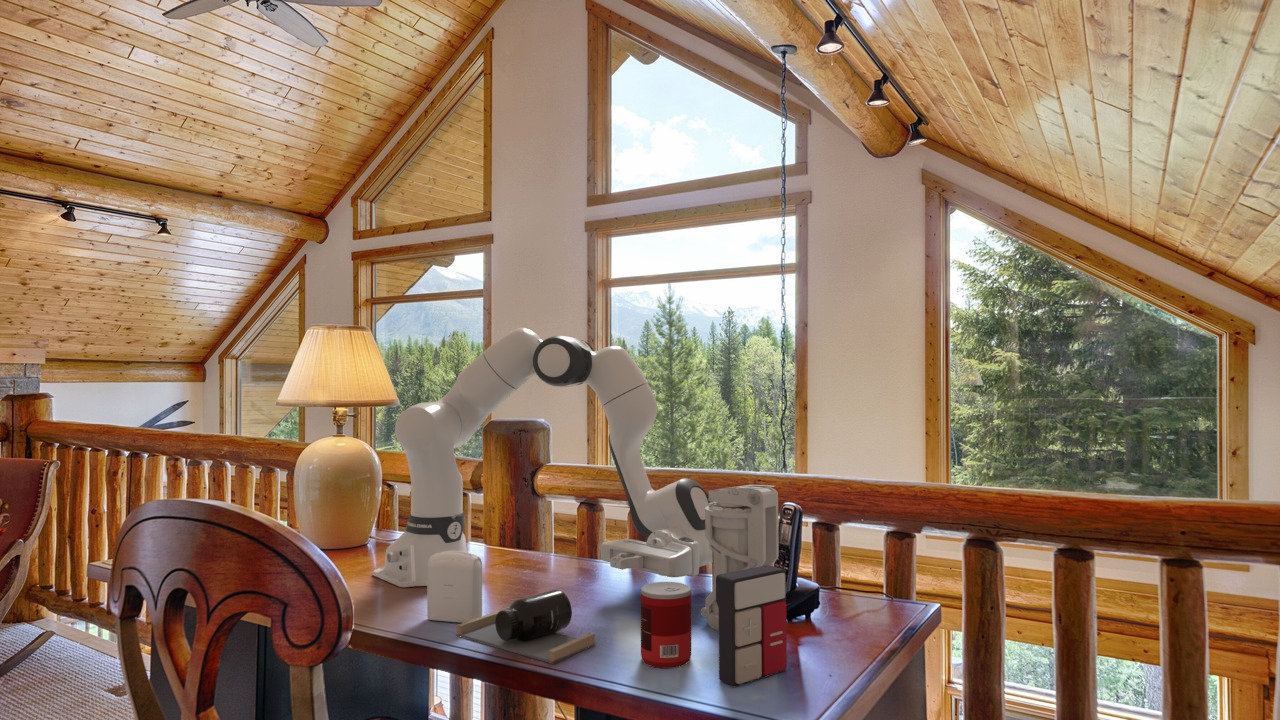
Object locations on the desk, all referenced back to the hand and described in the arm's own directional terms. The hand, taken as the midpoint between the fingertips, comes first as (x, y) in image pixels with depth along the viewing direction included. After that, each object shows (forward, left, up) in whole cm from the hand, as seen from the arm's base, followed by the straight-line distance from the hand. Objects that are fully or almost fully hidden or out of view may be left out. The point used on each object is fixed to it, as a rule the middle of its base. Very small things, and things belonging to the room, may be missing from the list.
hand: (615, 563), depth 136 cm
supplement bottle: (-2, -13, -5) cm, 14 cm away
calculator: (+34, -11, -10) cm, 37 cm away
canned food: (+20, -13, -10) cm, 26 cm away
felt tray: (-4, -20, -9) cm, 22 cm away
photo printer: (-22, -19, -10) cm, 31 cm away
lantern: (+22, +8, -9) cm, 25 cm away
